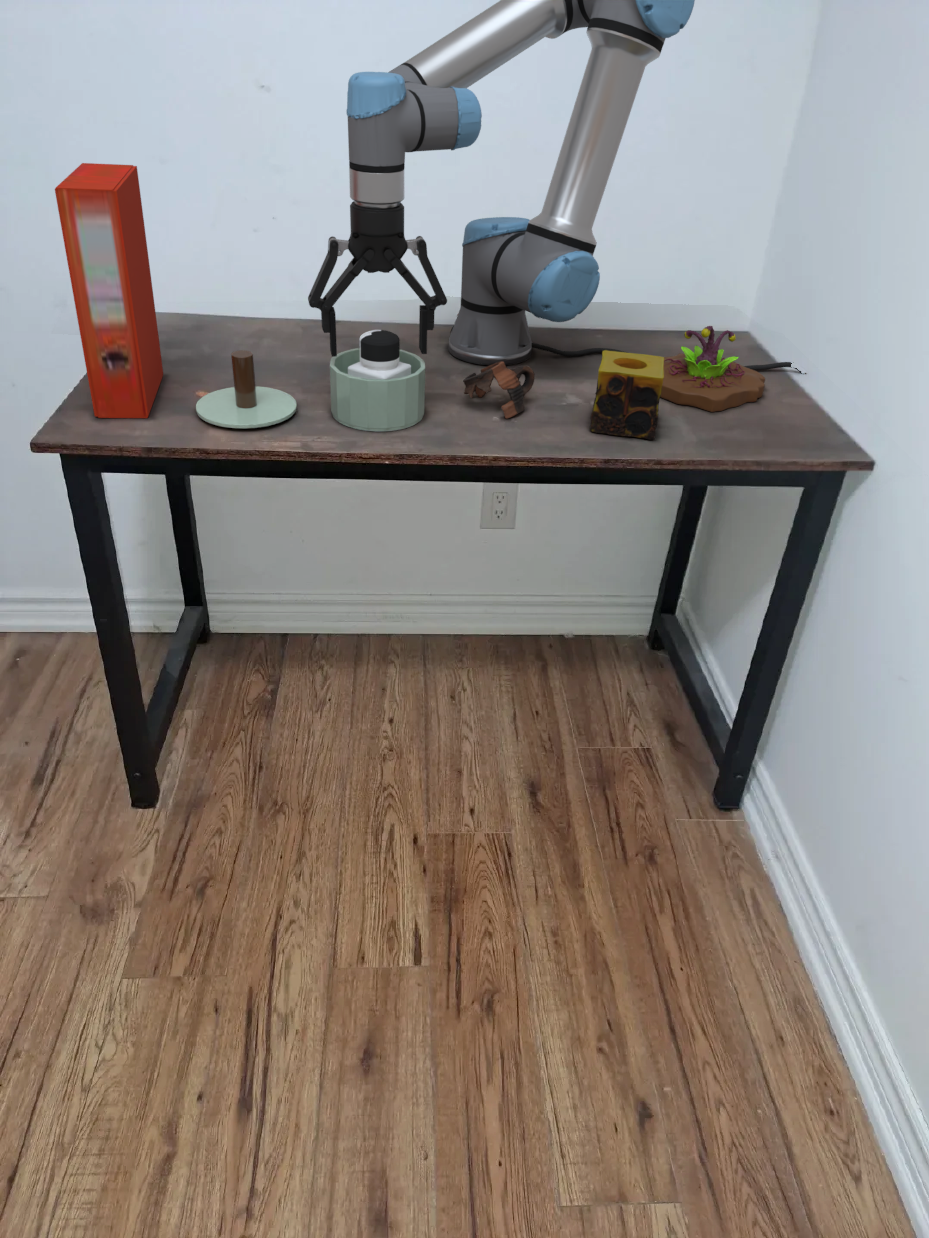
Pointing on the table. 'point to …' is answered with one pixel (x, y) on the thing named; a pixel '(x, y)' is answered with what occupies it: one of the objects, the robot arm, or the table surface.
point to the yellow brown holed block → (628, 395)
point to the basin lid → (245, 400)
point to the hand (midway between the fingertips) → (378, 352)
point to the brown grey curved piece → (502, 385)
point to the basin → (377, 395)
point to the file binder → (112, 287)
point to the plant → (709, 376)
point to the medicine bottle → (379, 357)
